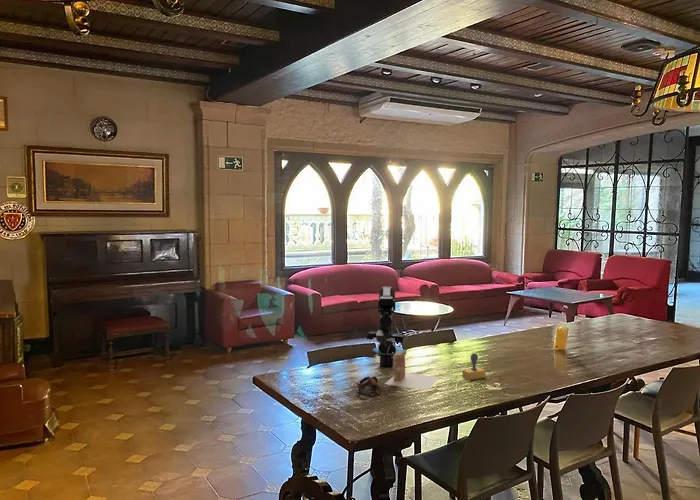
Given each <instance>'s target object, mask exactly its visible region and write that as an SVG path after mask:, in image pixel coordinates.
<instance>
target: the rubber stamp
mask: <svg viewBox="0 0 700 500" xmlns="http://www.w3.org/2000/svg"><path fill="white" fill-rule="evenodd" d="M478 359H479V356H478V354H477V353H475V352H473V353H471V355H470V361H471V364H472V367H471V368H465V369H462V375H461V377H462V378H464V379H466V380H468V381H471V380H478V379H483V378H484V379H486V376H487V375H486V373H487V370H485V369H484V368H481V367H479V366H478V367H476V365H477V362H478Z"/></svg>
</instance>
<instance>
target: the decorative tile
mask: <svg viewBox="0 0 700 500" xmlns="http://www.w3.org/2000/svg"><path fill="white" fill-rule="evenodd" d="M395 347H396V353H397V352H398V351H405V355H407V351H406V350H405V349H403V348H401V347H399V346H397V345H395ZM372 352H373V353H375V354H377V355H378V347H373V348H372ZM392 353H394V352H392Z"/></svg>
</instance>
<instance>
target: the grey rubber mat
mask: <svg viewBox="0 0 700 500" xmlns="http://www.w3.org/2000/svg"><path fill="white" fill-rule="evenodd" d="M439 378H440V377H439V376H432V375H424V374H418V373H411V372H410V373H409V372H405V377H404V378H403V379H402V380H401V381H394V375H393V376H392V377H391V378H390V379H388V380H387V381H386V382H385V383H384V385H388V386H389V385H390V386H394V387H395V386H397V387H402V388H409V389H416V390H423V391H429V390H430V389H431V387H432V386H433V385H434V384H435V383H436V382H437V381H438V380H439Z"/></svg>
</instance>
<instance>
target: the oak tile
mask: <svg viewBox="0 0 700 500" xmlns="http://www.w3.org/2000/svg"><path fill="white" fill-rule="evenodd" d="M405 351H406V350H405ZM405 351H398V352H397V353H395V354H394V355H393V367H392V368H393V376H394V381H401V380H402V379H403V378H404V377H405V373H406V354H405Z"/></svg>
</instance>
